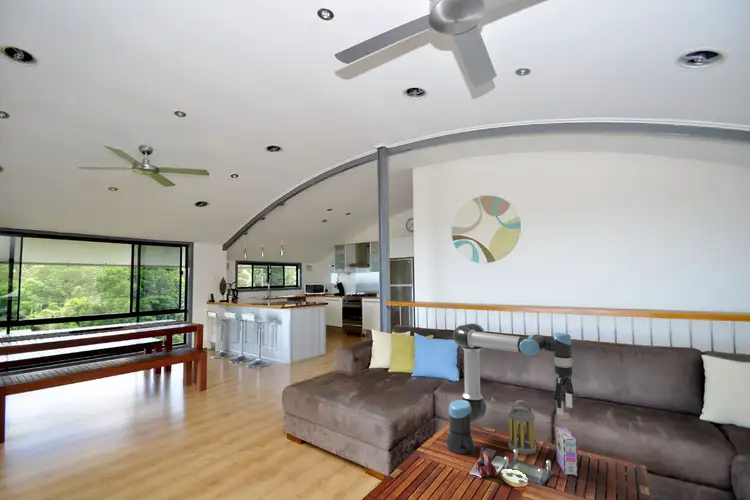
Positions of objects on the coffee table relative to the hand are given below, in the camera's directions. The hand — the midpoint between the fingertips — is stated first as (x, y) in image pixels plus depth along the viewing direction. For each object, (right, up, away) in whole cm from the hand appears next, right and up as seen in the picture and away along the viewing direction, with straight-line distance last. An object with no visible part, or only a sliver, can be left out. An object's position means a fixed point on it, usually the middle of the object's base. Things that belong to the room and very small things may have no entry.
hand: (564, 411), depth 176 cm
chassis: (-19, -28, -2) cm, 34 cm away
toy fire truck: (-39, -28, -3) cm, 48 cm away
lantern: (-11, -30, +22) cm, 39 cm away
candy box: (+2, -28, +1) cm, 28 cm away
